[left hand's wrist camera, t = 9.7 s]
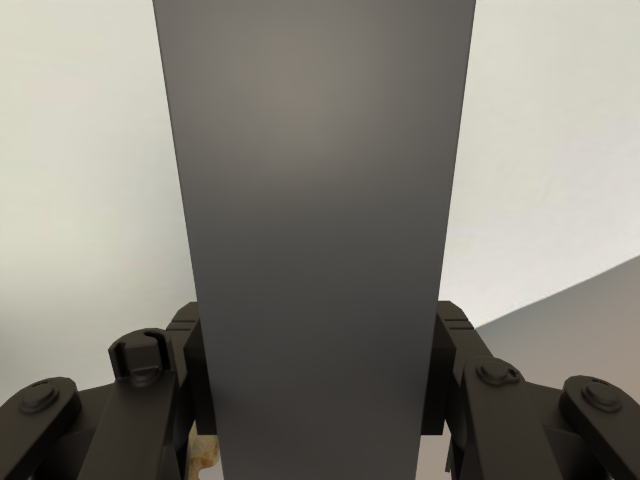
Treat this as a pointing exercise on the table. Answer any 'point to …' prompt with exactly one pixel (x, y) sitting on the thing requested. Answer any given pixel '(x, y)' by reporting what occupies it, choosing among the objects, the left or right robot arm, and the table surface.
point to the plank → (316, 219)
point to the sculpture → (202, 452)
